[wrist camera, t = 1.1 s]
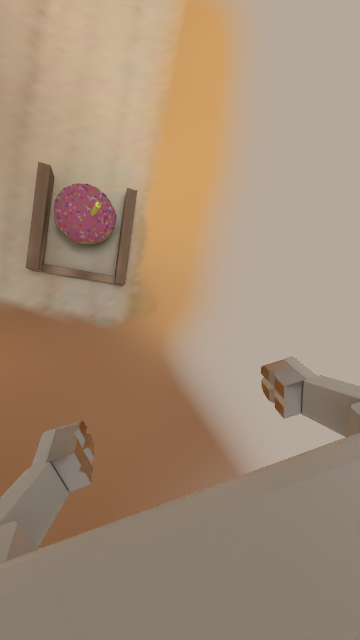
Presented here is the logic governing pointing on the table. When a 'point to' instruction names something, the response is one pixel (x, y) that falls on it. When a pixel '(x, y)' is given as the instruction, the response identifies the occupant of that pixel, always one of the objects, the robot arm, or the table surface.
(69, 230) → the cupcake
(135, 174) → the table surface
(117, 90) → the table surface
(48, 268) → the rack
